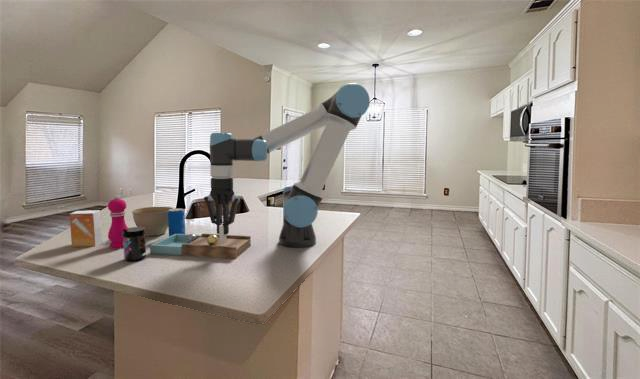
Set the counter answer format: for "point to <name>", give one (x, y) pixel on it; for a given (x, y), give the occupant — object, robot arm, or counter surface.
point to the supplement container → (134, 244)
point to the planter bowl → (152, 219)
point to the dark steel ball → (191, 238)
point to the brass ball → (212, 240)
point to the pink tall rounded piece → (117, 222)
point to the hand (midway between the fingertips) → (223, 242)
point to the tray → (170, 245)
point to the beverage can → (176, 221)
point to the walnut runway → (217, 247)
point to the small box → (85, 228)
